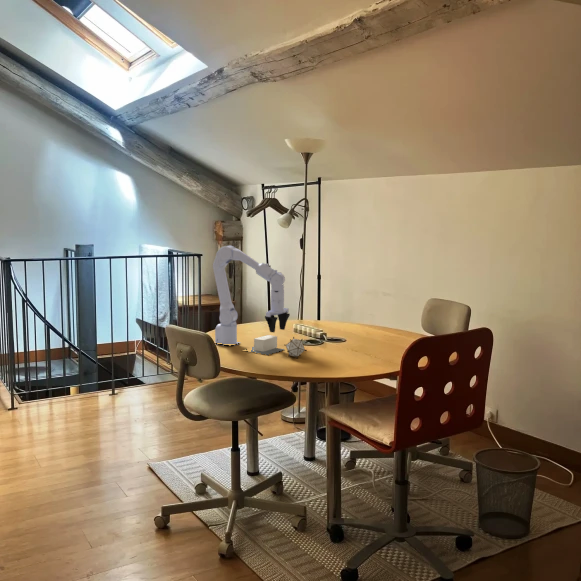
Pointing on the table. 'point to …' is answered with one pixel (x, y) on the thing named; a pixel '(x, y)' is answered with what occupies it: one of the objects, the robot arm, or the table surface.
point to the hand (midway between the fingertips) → (277, 330)
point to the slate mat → (267, 351)
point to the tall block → (265, 343)
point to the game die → (295, 347)
